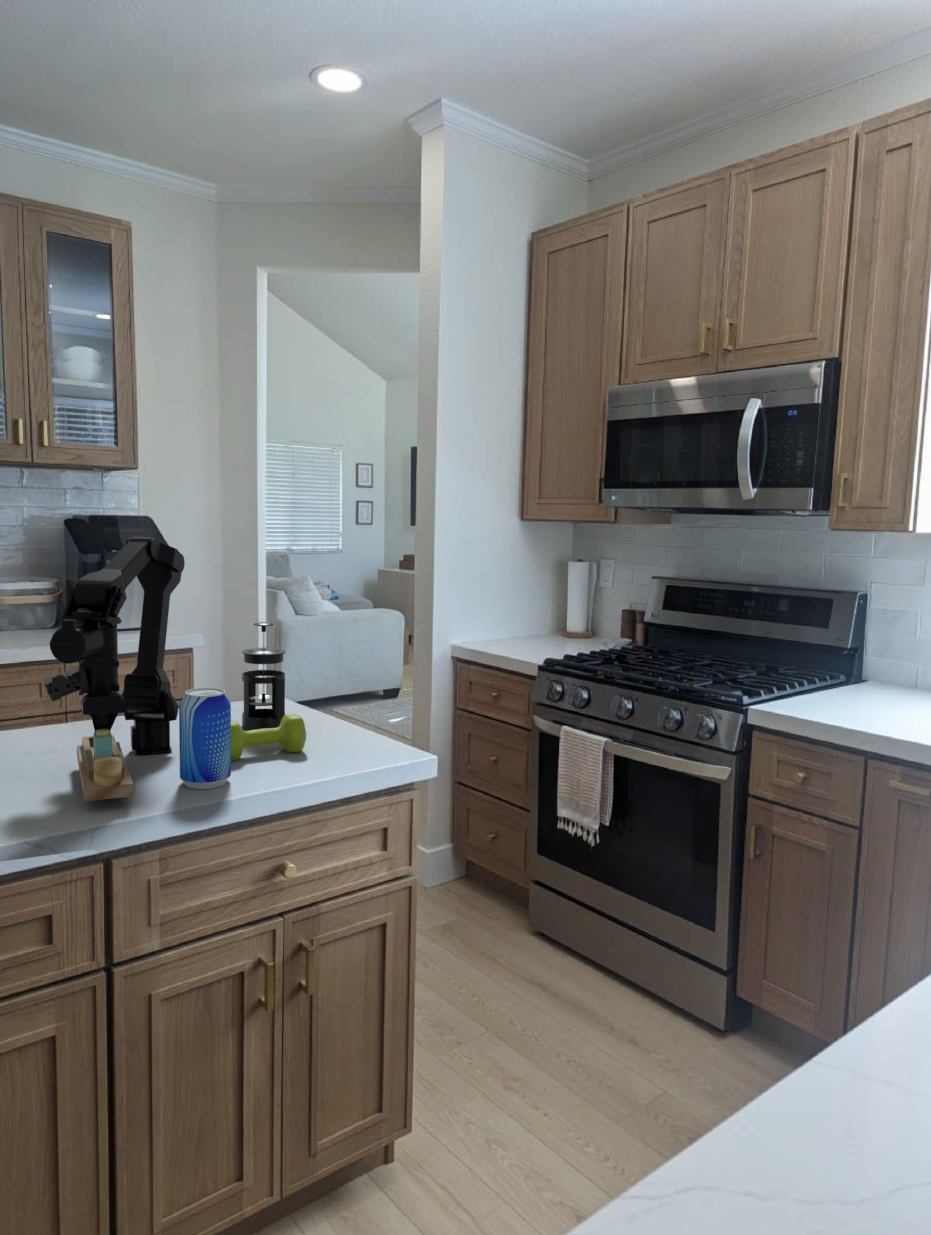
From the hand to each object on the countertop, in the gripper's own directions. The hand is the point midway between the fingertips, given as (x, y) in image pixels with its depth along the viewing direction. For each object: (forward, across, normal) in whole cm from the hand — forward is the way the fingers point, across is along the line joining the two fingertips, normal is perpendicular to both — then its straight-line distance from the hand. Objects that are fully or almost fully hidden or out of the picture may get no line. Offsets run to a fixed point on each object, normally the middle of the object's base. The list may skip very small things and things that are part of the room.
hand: (101, 744), depth 148 cm
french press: (+7, -26, +34) cm, 44 cm away
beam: (+7, +3, 0) cm, 7 cm away
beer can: (+7, +7, +16) cm, 19 cm away
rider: (+3, +4, 0) cm, 4 cm away
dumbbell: (+7, -8, +29) cm, 31 cm away
